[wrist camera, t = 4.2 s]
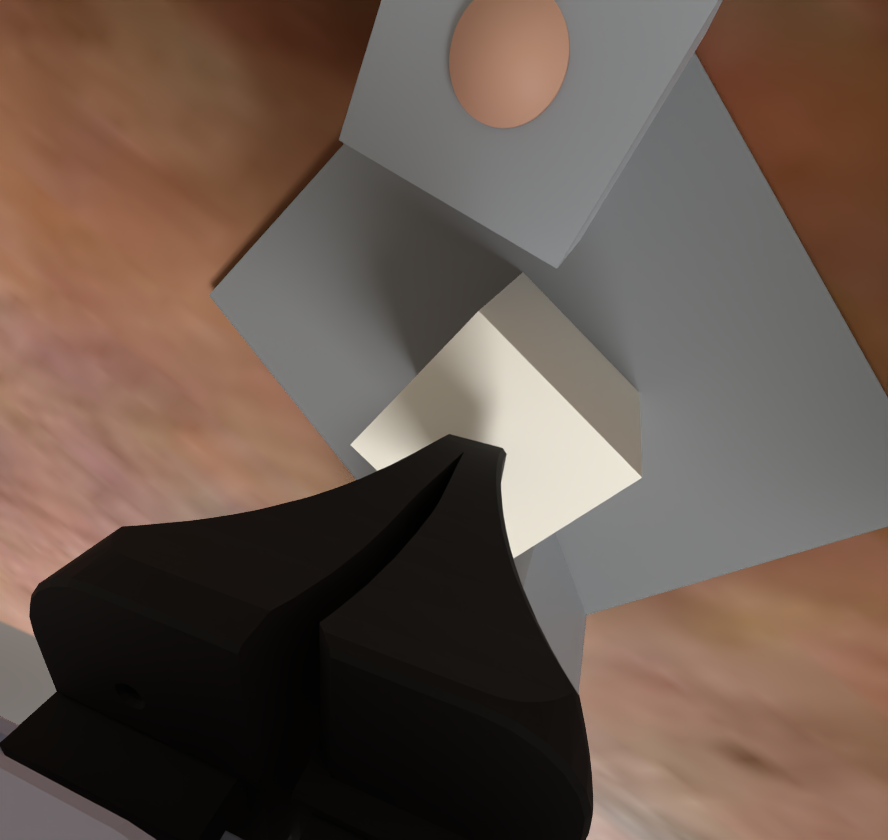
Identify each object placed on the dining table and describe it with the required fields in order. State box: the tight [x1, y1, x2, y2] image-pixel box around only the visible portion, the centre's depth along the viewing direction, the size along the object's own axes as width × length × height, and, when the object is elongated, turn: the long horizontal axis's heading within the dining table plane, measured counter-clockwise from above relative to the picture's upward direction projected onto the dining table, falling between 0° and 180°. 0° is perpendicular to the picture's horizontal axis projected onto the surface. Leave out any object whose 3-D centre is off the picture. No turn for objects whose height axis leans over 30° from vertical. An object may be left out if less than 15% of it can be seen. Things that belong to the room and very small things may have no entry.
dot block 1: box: [339, 0, 723, 269], centre depth 11 cm, size 5×5×5 cm
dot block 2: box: [514, 533, 586, 693], centre depth 17 cm, size 5×5×5 cm
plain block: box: [351, 273, 642, 559], centre depth 14 cm, size 5×5×5 cm
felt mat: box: [209, 52, 888, 615], centre depth 16 cm, size 16×18×1 cm
